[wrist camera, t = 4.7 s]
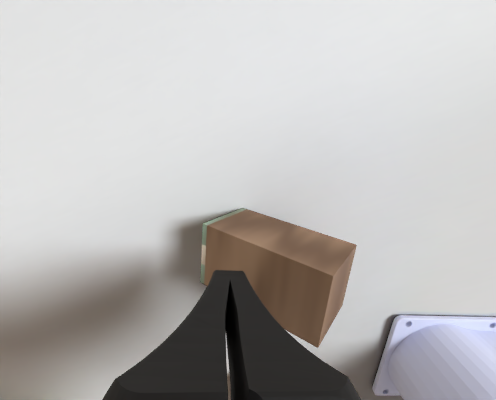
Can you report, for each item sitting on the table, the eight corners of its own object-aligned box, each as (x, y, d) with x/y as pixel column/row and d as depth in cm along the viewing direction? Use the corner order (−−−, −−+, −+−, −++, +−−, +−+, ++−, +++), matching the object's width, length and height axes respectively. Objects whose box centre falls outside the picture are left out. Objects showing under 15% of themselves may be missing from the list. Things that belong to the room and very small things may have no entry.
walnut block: (242, 207, 17) (356, 244, 13) (238, 258, 18) (342, 304, 15) (202, 223, 14) (333, 276, 11) (200, 282, 15) (317, 347, 12)
